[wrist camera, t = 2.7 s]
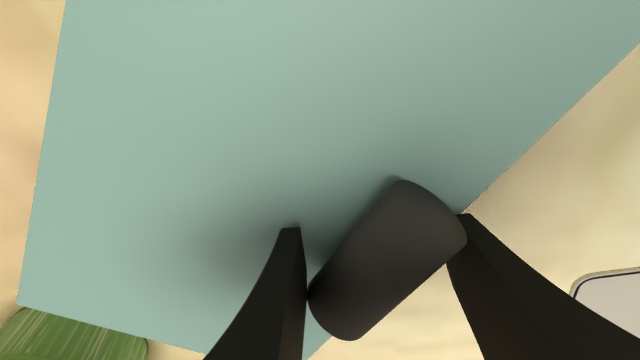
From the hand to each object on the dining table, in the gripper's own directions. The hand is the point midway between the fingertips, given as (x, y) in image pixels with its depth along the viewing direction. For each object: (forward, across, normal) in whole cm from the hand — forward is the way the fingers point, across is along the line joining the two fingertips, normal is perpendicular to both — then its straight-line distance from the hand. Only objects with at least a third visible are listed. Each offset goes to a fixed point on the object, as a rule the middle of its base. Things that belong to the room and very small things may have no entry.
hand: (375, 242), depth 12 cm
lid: (+1, +3, -2) cm, 4 cm away
